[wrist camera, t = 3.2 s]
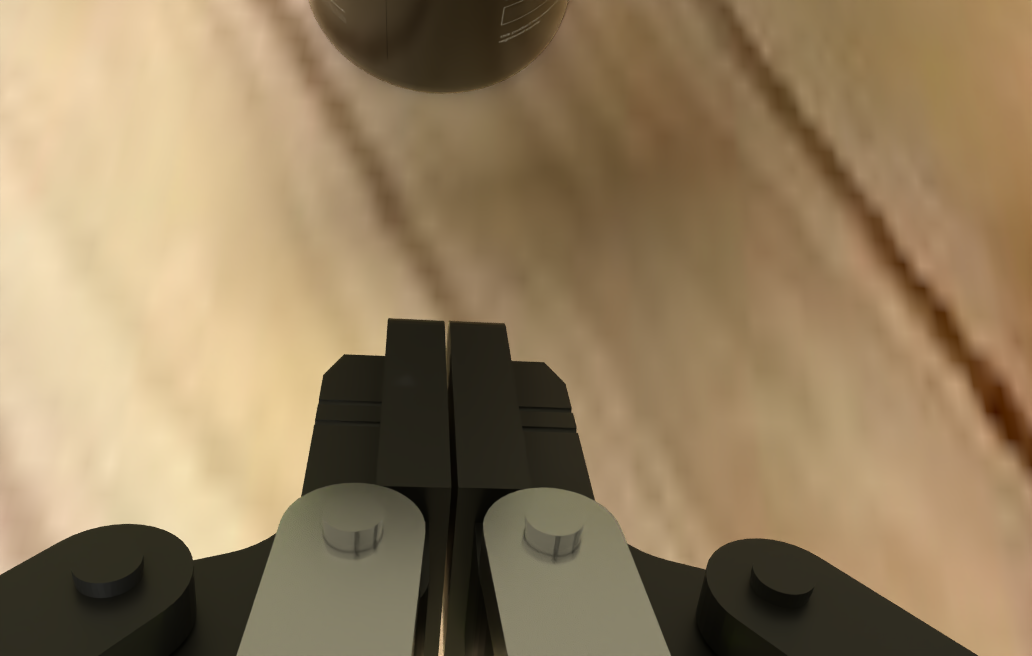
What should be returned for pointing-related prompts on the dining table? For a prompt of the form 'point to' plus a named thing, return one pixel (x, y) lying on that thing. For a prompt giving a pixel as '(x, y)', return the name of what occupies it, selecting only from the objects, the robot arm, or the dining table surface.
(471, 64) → the supplement bottle
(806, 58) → the dining table surface
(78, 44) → the dining table surface
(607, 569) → the robot arm
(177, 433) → the dining table surface
